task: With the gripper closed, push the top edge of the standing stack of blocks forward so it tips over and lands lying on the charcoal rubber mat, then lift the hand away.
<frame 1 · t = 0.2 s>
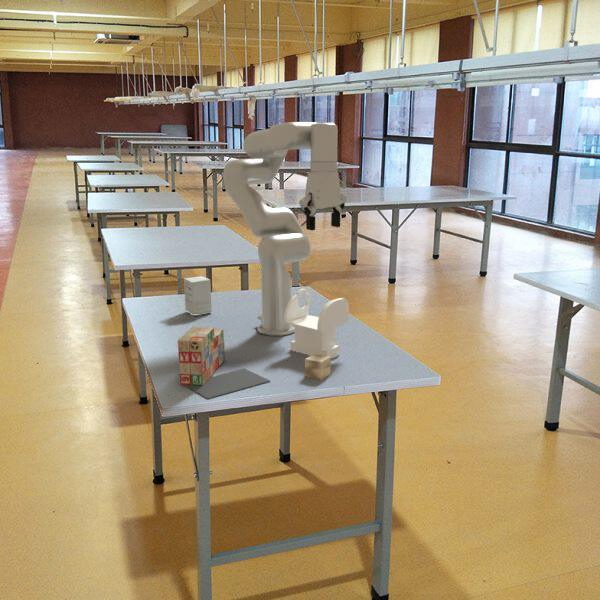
hand: (323, 228, 198), 37 cm above the table, tool pointing down, fingers open, 9 cm apart
beech block: (317, 375, 185), on the table
white plastic bracket: (316, 352, 204), on the table
stack of blocks: (203, 372, 187), on the table, touching rubber mat
supplement box: (198, 313, 246), on the table
rubber mat: (227, 383, 179), on the table
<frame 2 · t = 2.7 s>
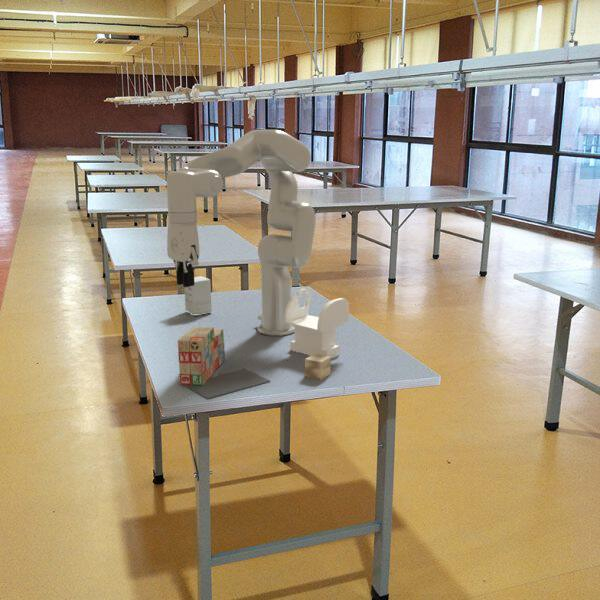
hand: (185, 284, 187), 23 cm above the table, tool pointing down, fingers closed
nothing on the table moved.
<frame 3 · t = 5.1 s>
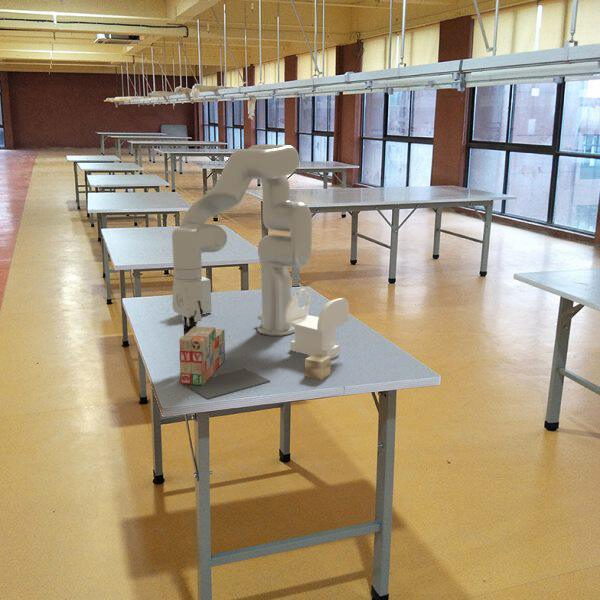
hand: (190, 338, 190), 8 cm above the table, tool pointing down, fingers closed
stack of blocks: (203, 372, 187), on the table, touching gripper, rubber mat
everything else where it was.
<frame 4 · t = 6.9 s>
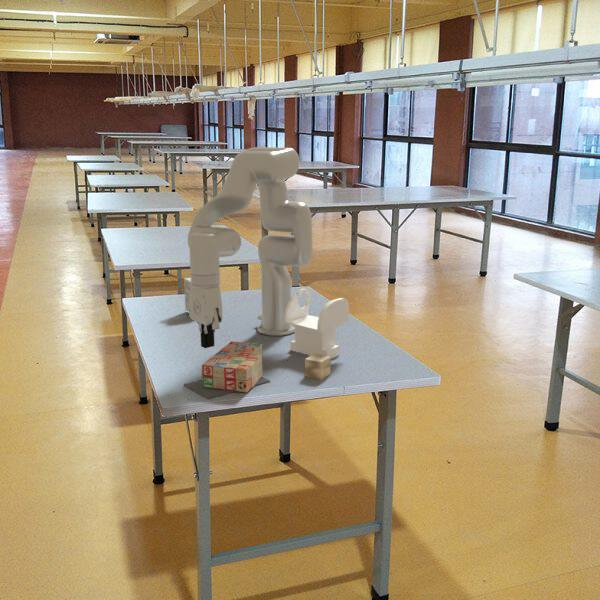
hand: (207, 346, 183), 8 cm above the table, tool pointing down, fingers closed
stack of blocks: (216, 363, 184), point 3 cm above the table, touching rubber mat
everything else where it was.
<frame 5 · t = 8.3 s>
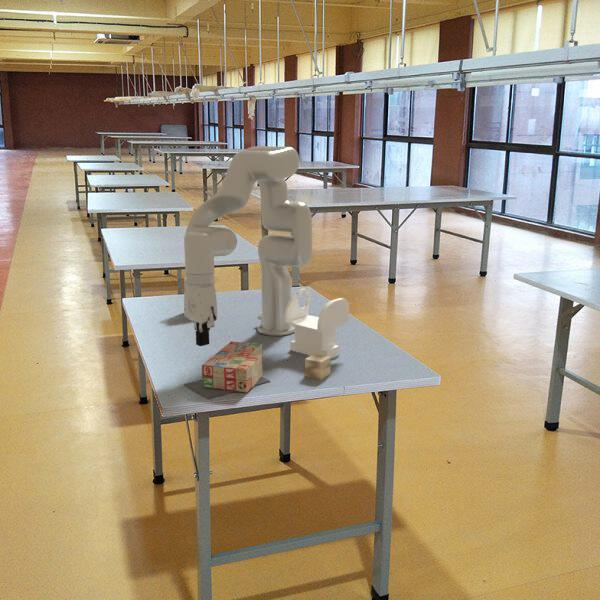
hand: (202, 344, 185), 8 cm above the table, tool pointing down, fingers closed
nothing on the table moved.
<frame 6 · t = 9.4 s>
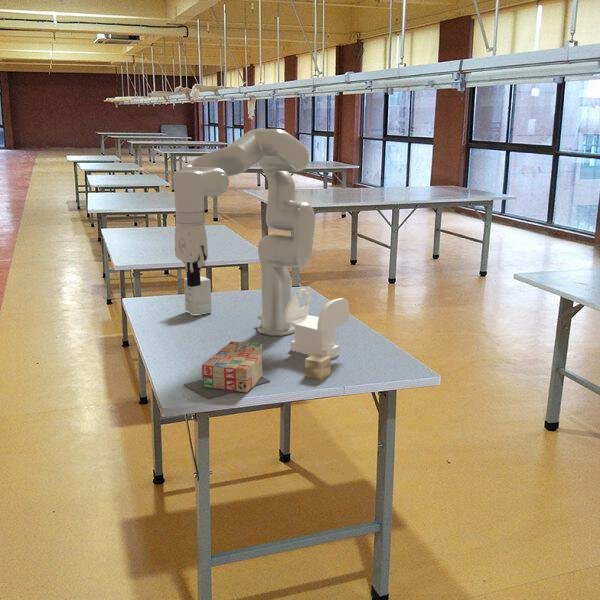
hand: (194, 285, 185), 24 cm above the table, tool pointing down, fingers closed
nothing on the table moved.
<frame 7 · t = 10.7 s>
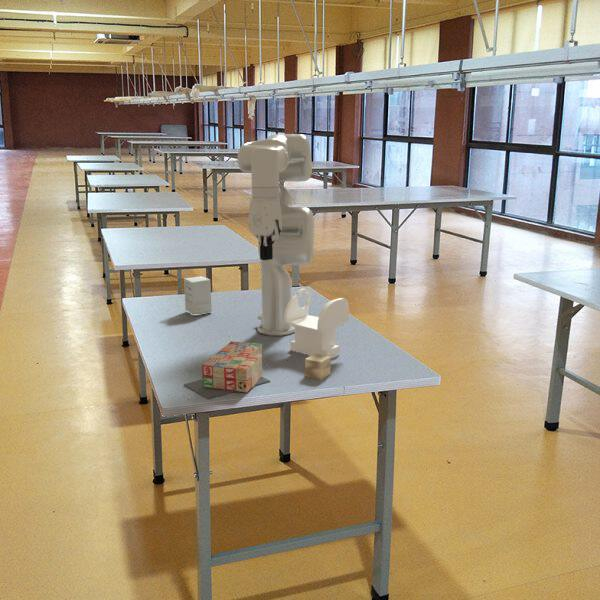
hand: (266, 259, 192), 29 cm above the table, tool pointing down, fingers closed
nothing on the table moved.
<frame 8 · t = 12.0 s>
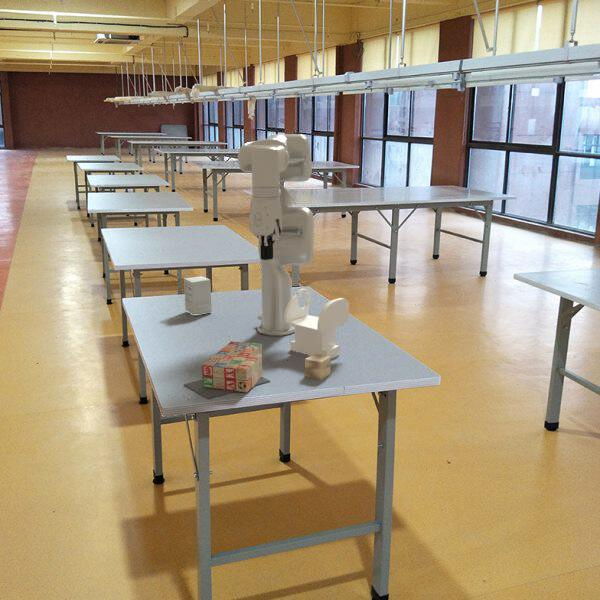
hand: (266, 259, 192), 29 cm above the table, tool pointing down, fingers closed
nothing on the table moved.
at the end: stack of blocks tilted 90°; stack of blocks inside the target area (5.3 cm from its centre), point 3.4 cm above the table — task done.
